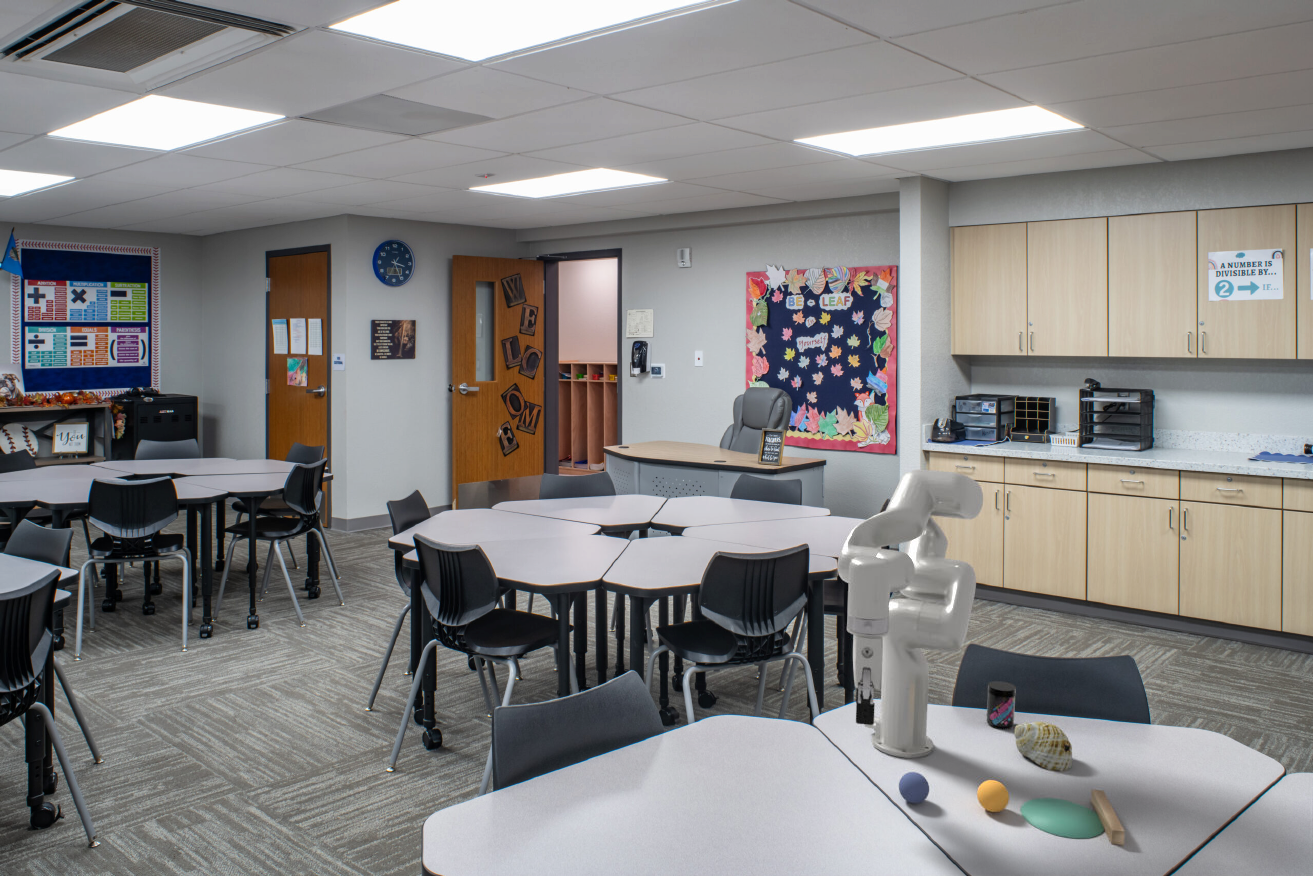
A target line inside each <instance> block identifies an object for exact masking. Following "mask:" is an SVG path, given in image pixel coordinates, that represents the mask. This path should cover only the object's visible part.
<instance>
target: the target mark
mask: <svg viewBox="0 0 1313 876" xmlns="http://www.w3.org/2000/svg"><path fill="white" fill-rule="evenodd" d="M1020 813H1021V816H1022V817H1023V819H1025V821H1026V822H1027V823H1029V824H1030V825H1031V826H1033V827H1035V828H1036V829H1039V830H1040V831H1043V832H1045V833H1047V834H1049V835H1055V836H1058V837H1063V838H1069V839H1090V838H1095V837H1098V836H1100V835H1102V834H1103V833H1104V832H1105V830H1104V827H1103V825H1102V823H1101V821H1100V818H1099V816H1098V814H1097V813H1096V811H1095V810H1093V809H1090V808H1089V807H1087V806H1084V805H1082V804H1080V803H1077V802H1073V801H1069V800H1065V799H1062V798H1061V799H1060V798H1053V797H1052V798H1051V797H1040V798H1033V799H1030V800H1027V801H1025V802H1024V803H1023V804H1022V805H1021V807H1020Z"/></svg>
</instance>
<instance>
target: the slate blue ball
mask: <svg viewBox="0 0 1313 876" xmlns="http://www.w3.org/2000/svg"><path fill="white" fill-rule="evenodd" d="M898 791H899V794H900V795H901V797H902V798H903V799H904V800H905V801H906V802H908V803H911V804H921V803H923V802H924V801H926V799H927V797H928V796H929V793H930V785H929V782H928V780H927V778H925V776H924V775H922V774H921V773H919V772H916V771H909V772H907V773H904V774H903V775H902V776H901V778H900V779H899V782H898Z"/></svg>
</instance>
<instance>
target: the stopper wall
mask: <svg viewBox="0 0 1313 876" xmlns="http://www.w3.org/2000/svg"><path fill="white" fill-rule="evenodd" d="M1090 793H1091V797H1090V798H1091V799H1090V803H1091V805H1092V808H1093V809H1094V812H1095V813H1097V814H1098V816H1099V818H1100V821H1101V823H1102V825H1103V827H1104V832H1105V834H1106V836H1107V838H1108V840H1109V842H1110V844H1111V845H1118V846H1119V845H1120V846H1125V837H1126V836H1125V833H1126V832H1125V829H1124V827H1123V825H1122V823H1121V821H1120V820H1119V817H1118V816H1117V814H1116V812H1115V810H1114V809H1113V807H1112V805H1111V803H1110V801H1109V799H1108V797H1107V795H1106V793H1105V791H1104V790H1102V789H1101V790H1100V789H1091V792H1090Z"/></svg>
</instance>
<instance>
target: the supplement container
mask: <svg viewBox="0 0 1313 876" xmlns="http://www.w3.org/2000/svg"><path fill="white" fill-rule="evenodd" d="M1016 689H1017V687H1016V686H1015V685H1014V684H1012V683H1010V682H1007V681H999V680H998V681H995V680H994V681H990V682H988V683H987V703H986V704H987V705H986V722H987V724H988V726H990V727H992V728H993V729H998V730H1010V729H1011V728H1013V727H1014V725H1015V707H1016V695H1017V693H1016V691H1017V690H1016Z"/></svg>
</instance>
